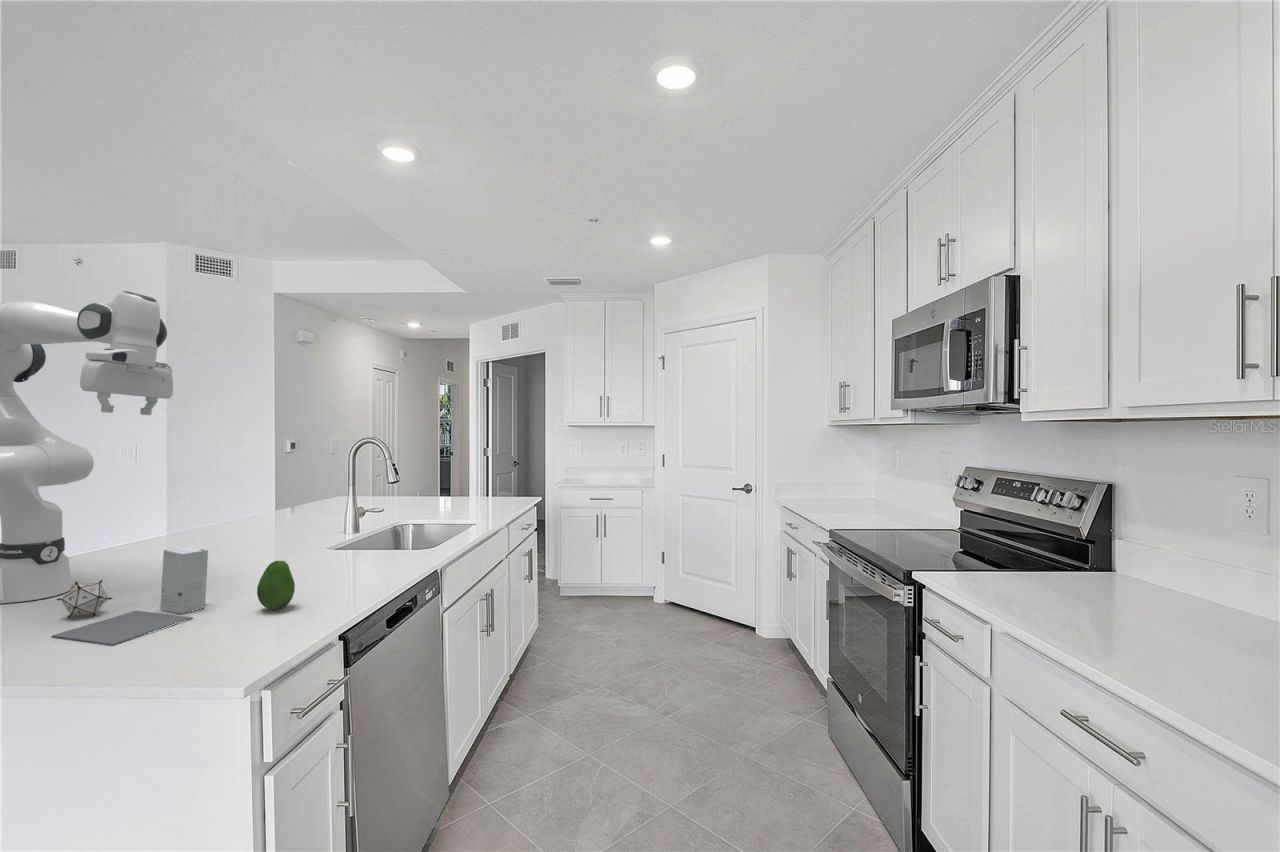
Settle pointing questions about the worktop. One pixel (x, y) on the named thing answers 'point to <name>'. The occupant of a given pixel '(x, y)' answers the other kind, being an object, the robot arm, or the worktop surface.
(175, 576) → the skincare box
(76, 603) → the game die
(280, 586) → the fruit
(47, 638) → the worktop surface
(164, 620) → the mat
